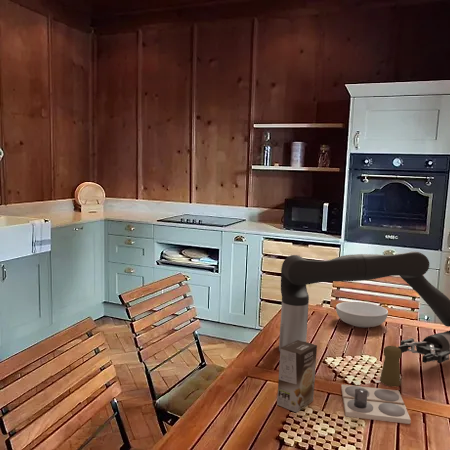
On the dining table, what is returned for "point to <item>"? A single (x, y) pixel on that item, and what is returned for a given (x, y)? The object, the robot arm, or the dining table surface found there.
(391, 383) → the pepper mill
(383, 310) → the serving bowl
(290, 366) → the coffee box
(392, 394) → the board
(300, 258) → the robot arm
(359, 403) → the pin
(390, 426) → the dining table surface
